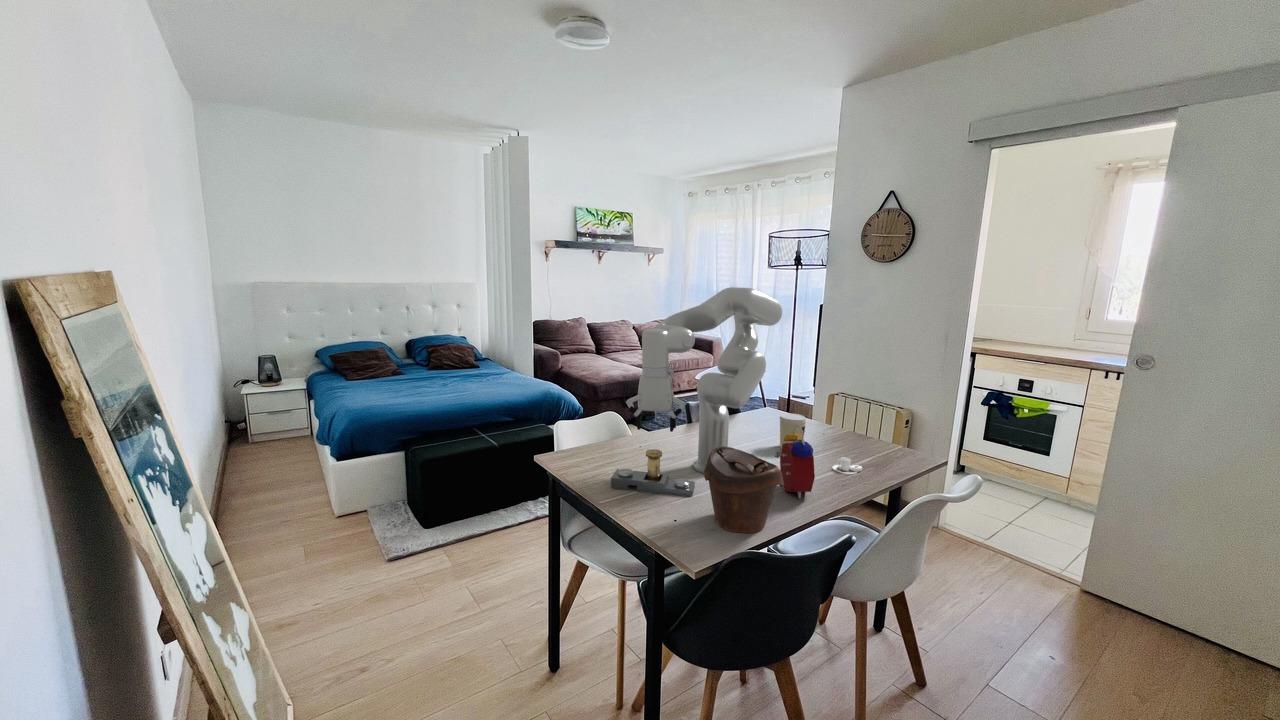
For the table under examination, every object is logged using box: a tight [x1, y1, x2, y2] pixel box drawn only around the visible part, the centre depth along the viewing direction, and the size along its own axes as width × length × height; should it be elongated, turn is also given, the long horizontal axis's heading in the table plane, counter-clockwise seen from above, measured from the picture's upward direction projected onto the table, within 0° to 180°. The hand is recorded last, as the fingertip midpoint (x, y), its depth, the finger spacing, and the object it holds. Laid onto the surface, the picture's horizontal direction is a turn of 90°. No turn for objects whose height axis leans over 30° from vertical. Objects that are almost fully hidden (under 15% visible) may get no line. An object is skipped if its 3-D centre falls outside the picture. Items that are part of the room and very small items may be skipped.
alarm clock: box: [774, 426, 816, 499], centre depth 149 cm, size 15×9×20 cm, turn 179°
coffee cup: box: [779, 413, 807, 449], centre depth 187 cm, size 9×9×12 cm
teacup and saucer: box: [831, 456, 863, 475], centre depth 167 cm, size 9×8×4 cm
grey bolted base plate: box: [610, 468, 696, 497], centre depth 151 cm, size 24×8×4 cm, turn 78°
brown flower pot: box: [703, 446, 784, 534], centre depth 129 cm, size 18×20×18 cm
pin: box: [645, 448, 663, 481], centre depth 151 cm, size 5×5×11 cm
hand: (655, 429), depth 149 cm, fingers open, 9 cm apart
